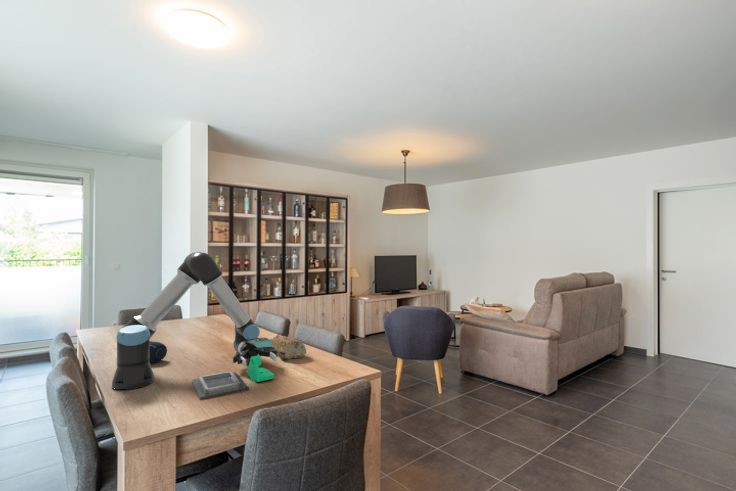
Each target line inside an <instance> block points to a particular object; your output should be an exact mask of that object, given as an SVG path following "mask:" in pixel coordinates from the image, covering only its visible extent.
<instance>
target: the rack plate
mask: <svg viewBox="0 0 736 491" xmlns="http://www.w3.org/2000/svg"><path fill="white" fill-rule="evenodd" d="M191 383H192V385H193V387H194V390H195V392H196V394H197V396H198V398H199V400H205V399H210V398H214V397H220V396H224V395H225V396H226V395H230V394H235V393H240V392H246V391H249V386H248V385H247V384H246V382H244V380H243V379H242V378H241V377H240V376H239V374H238V373H237V372H236V371H235V372H234V371H233V370H230V371H225V372H224V371H223V372H218V373H211V374H207V375H206V374H205V375H201V376H198V377H197V378H193V379H191Z"/></svg>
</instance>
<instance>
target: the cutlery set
mask: <svg viewBox="0 0 736 491" xmlns="http://www.w3.org/2000/svg"><path fill="white" fill-rule="evenodd" d="M272 340H273V338H267V337H257V338H256V339H254V340H250V342H251V343H253V344H254V345H255V346H256V347H257V349H261V350H262V348H265V349H272Z"/></svg>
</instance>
